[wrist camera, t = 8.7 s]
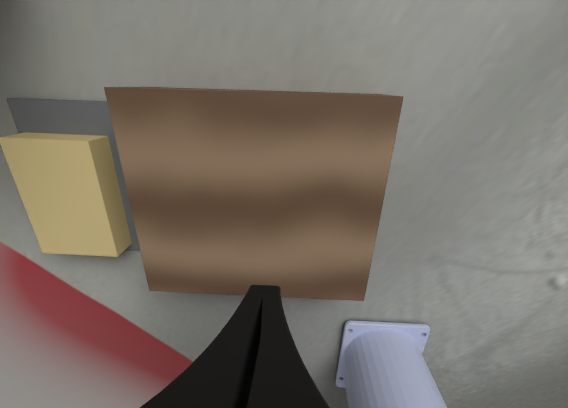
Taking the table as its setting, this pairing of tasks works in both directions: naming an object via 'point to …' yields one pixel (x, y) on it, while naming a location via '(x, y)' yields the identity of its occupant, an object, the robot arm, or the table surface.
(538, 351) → the table surface
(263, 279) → the board
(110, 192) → the pale yellow block
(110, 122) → the mat
